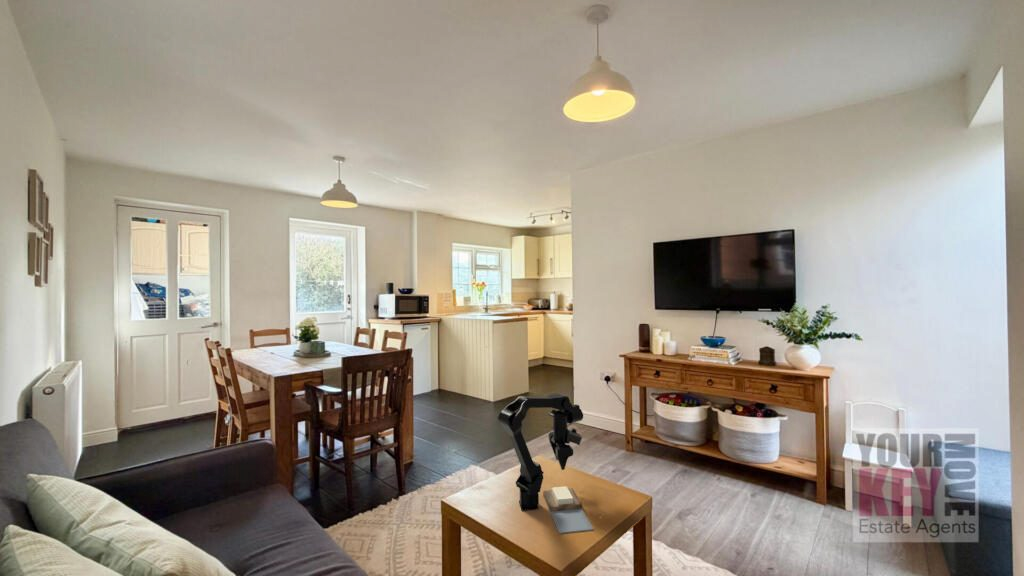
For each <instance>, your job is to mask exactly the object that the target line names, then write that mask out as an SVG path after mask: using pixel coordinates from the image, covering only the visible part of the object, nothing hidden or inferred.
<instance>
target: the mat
mask: <svg viewBox="0 0 1024 576" xmlns="http://www.w3.org/2000/svg"><path fill="white" fill-rule="evenodd" d="M549 512H550V511H549ZM549 514H550V516H551V517H552V520H553V522H554V525H555V527H556V529H557V532H558V534H559V535H560V534H569V533H579V532H580V533H581V532H586V531H588V532H589V531H594V527H593V525H592V524H591V522H590V520H589V518H588V516H587V515H586V513H585V511H584V510H583V508H582V509H573V510H563V511H553V512H550V513H549Z"/></svg>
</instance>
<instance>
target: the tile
mask: <svg viewBox="0 0 1024 576" xmlns="http://www.w3.org/2000/svg"><path fill="white" fill-rule="evenodd" d="M568 489H569V488H568V486H566V485H565V486H556V487H554V486H553V487H551V490H552V494H553V496H554V499H555V501H556V503H557V505H562V504H572V503H573V497H572V495H571V493H570V492H569V490H568Z"/></svg>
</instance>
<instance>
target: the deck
mask: <svg viewBox="0 0 1024 576" xmlns="http://www.w3.org/2000/svg"><path fill="white" fill-rule="evenodd" d="M568 490H569V492H570V493H571V495H572V497H573V503H572V504H562V505H557V503H556V501H555V499H554V496H553V494H552V489H549V490H543V491H542V495H543V496H542V497H543V498H544V501H545V503H546V505H547V508H548V511H549V512H553V511H563V510H573V509H583V505H582V502H581V500H580V499H579V497H578V495H577V493H576V491H575V489H574V488H573V487H572V488H571V487H570V488H568Z"/></svg>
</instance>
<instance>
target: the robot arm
mask: <svg viewBox="0 0 1024 576" xmlns="http://www.w3.org/2000/svg"><path fill="white" fill-rule="evenodd" d="M538 408H540V409H541V408H542V409H548V408H551V409H552V410H551V411H550V412H549V413H548V416H549V417H552V427H551V430H552V431H550V432H549V433H548V440H549V444H550V446H551V449H552V452H553V454H554V457H555V459H556V460H557V461H558V464H559V467H560V469H561V470H562V471H564V470H565V469H566V466H567V462H568V459H569V458H570V457H572V456H574V449H573V448H572V447H573V446H571V445H570V443H573V444H576V445H578V446H580V445H581V442H582V439H583V437H582V435H581V434H580V433H578V432H577V429H576V428H574V427H571V429H568V424H569V425H570V424H571V425H572V424H574V423H577V422H578V423H579V422H581V421H583V419H584V413H583V410H582V409H581V408H580V404H572V402H571V400H570V397H569V396H567V395H563V394H560V393H558V392H557V393H556V392H555V393H551V394H548V395H547V396H542V395H541V396H537V395H536V396H532V395H531V396H527V395H526V396H525V395H520V396H518V397H517V398H516V399H515V400H514V401H512V402H511V403H509V404H507V405H505V407H504V408H503V409H501V411H500V412H499V415H498V416H497V420H498V423H499V424H500V426H501V427H502V430H504V431H505V432H506V433H507V434H508V437H509V439H510V441H511V443H512V446H513V449H514V452H515V454H516V456H517V458H518V461H519V463H520V467H519V472H520V475H519V476H518V477H517V478H516V481H515V485H516V487H517V488H518V489H519V500H518V504H519V507H520V510H521V511H532V510H539V505H540V497H539V493H541V489H542V485H543V480H544V474H545V473H544V471H543V470H542V466H541V464H540V463H538V462H537V461H534V460H533V458H532V456H531V453H530V450H529V448H528V446H527V443H526V439H525V437H524V435H523V432H522V429H523V421H524V420H525V418H526V416H527V413H528V411H529V409H538ZM517 410H519V411H517ZM515 411H517V412H515Z"/></svg>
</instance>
